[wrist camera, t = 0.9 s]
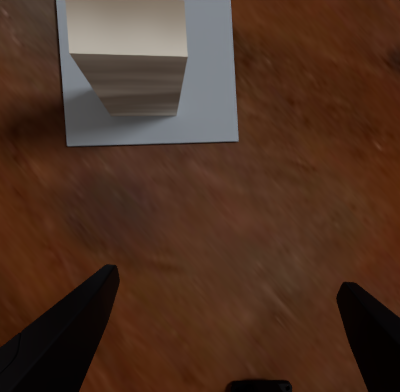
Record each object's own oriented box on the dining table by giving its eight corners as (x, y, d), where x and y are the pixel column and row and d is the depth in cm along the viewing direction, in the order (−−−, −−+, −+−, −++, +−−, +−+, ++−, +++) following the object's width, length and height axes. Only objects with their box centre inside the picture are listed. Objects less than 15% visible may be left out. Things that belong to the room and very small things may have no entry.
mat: (237, 141, 24) (238, 141, 24) (68, 146, 22) (67, 145, 21) (226, -61, 24) (226, -64, 23) (51, -80, 21) (50, -84, 21)
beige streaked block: (176, 115, 23) (187, 56, 13) (111, 116, 22) (69, 53, 12) (174, 84, 23) (184, 0, 13) (108, 83, 22) (64, -8, 12)
